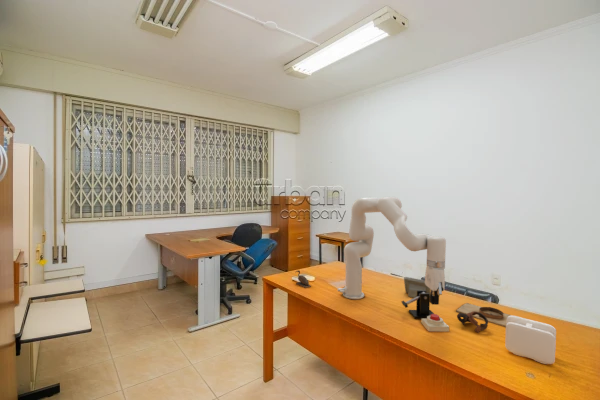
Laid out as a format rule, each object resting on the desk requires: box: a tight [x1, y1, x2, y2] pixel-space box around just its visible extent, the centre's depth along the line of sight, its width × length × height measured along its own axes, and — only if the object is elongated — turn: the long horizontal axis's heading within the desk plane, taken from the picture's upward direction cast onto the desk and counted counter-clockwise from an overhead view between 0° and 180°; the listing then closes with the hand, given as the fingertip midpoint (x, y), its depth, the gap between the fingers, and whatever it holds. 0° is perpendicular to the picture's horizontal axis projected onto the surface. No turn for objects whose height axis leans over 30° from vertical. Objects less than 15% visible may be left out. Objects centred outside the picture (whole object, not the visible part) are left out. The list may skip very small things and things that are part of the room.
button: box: [431, 313, 440, 321], centre depth 128 cm, size 4×4×2 cm
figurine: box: [295, 270, 312, 289], centre depth 186 cm, size 14×4×9 cm, turn 38°
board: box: [456, 302, 512, 328], centre depth 140 cm, size 25×15×3 cm, turn 41°
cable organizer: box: [504, 314, 557, 365], centre depth 107 cm, size 15×11×12 cm
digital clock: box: [403, 276, 430, 299], centre depth 165 cm, size 16×9×11 cm, turn 39°
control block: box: [420, 315, 450, 333], centre depth 128 cm, size 9×8×4 cm
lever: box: [401, 292, 425, 309], centre depth 140 cm, size 12×5×2 cm, turn 88°
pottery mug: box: [456, 311, 489, 333], centre depth 127 cm, size 12×10×8 cm
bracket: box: [408, 290, 435, 320], centre depth 140 cm, size 11×8×12 cm
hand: (434, 303), depth 128 cm, fingers closed
